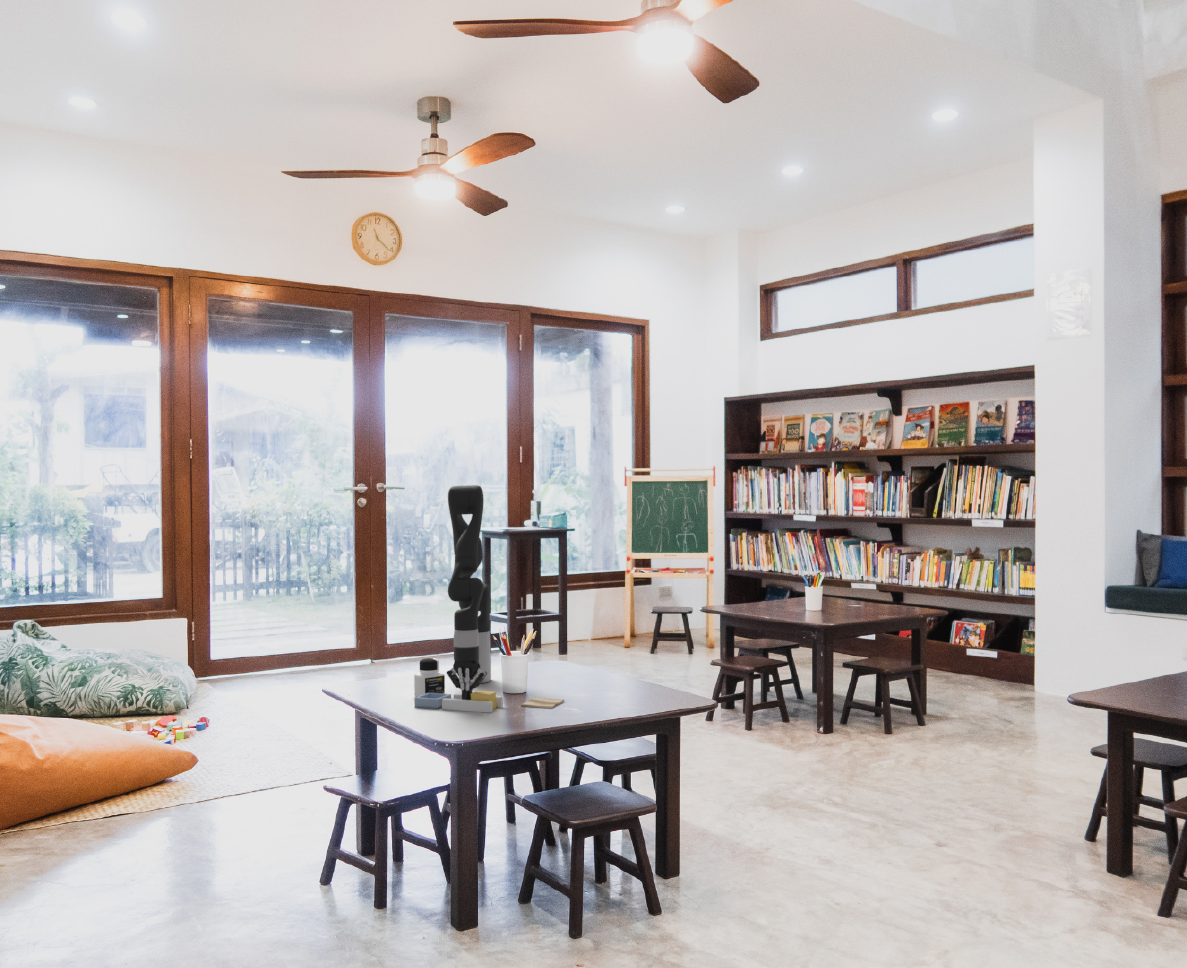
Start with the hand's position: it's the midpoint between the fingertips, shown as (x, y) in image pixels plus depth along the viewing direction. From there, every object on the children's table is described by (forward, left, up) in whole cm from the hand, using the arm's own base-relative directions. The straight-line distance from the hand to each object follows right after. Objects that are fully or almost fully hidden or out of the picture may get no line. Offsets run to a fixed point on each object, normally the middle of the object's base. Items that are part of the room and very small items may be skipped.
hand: (466, 702), depth 280 cm
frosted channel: (0, +2, -2) cm, 2 cm away
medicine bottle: (-11, -19, -2) cm, 22 cm away
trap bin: (0, -12, -2) cm, 12 cm away
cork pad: (-11, +20, -2) cm, 23 cm away
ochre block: (0, +6, -2) cm, 6 cm away
